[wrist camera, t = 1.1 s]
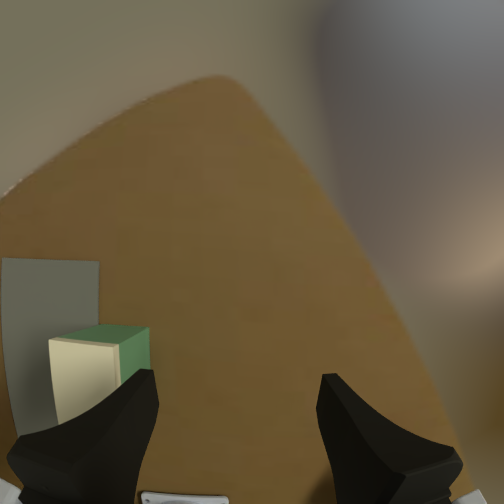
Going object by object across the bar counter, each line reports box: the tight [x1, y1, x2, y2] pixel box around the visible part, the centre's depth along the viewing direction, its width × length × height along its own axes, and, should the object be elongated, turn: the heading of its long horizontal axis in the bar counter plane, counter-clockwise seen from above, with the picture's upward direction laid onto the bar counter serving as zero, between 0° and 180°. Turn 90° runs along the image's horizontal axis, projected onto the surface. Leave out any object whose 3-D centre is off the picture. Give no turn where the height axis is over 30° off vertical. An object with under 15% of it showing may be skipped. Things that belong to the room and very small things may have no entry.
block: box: [49, 324, 150, 425], centre depth 18 cm, size 6×4×9 cm, turn 179°
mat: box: [1, 258, 100, 438], centre depth 22 cm, size 18×11×1 cm, turn 179°
